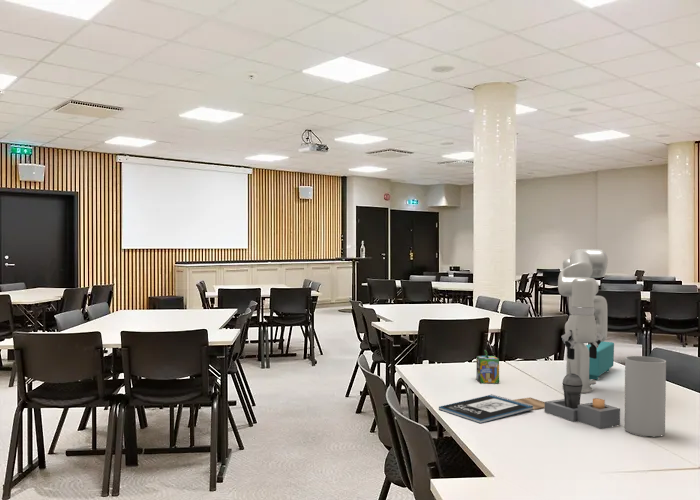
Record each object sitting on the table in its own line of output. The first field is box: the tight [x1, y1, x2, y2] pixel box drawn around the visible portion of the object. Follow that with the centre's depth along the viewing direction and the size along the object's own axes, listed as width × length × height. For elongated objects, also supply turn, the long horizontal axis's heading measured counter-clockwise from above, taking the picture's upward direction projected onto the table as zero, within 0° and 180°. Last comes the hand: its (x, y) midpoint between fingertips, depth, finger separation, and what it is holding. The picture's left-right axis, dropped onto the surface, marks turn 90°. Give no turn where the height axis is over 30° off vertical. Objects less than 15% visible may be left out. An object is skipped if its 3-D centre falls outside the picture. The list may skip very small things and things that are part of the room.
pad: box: [511, 397, 546, 412], centre depth 236 cm, size 14×14×1 cm
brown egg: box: [592, 397, 606, 409], centre depth 211 cm, size 4×4×4 cm
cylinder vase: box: [623, 355, 667, 437], centre depth 201 cm, size 12×12×25 cm
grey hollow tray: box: [544, 398, 621, 430], centre depth 217 cm, size 13×24×6 cm, turn 27°
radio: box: [585, 341, 615, 380], centre depth 296 cm, size 34×10×15 cm, turn 144°
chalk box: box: [475, 349, 500, 384], centre depth 277 cm, size 9×9×15 cm
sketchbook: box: [438, 393, 533, 424], centre depth 226 cm, size 22×30×2 cm
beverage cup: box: [562, 362, 583, 409], centre depth 222 cm, size 7×7×20 cm
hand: (581, 358), depth 215 cm, fingers open, 9 cm apart
